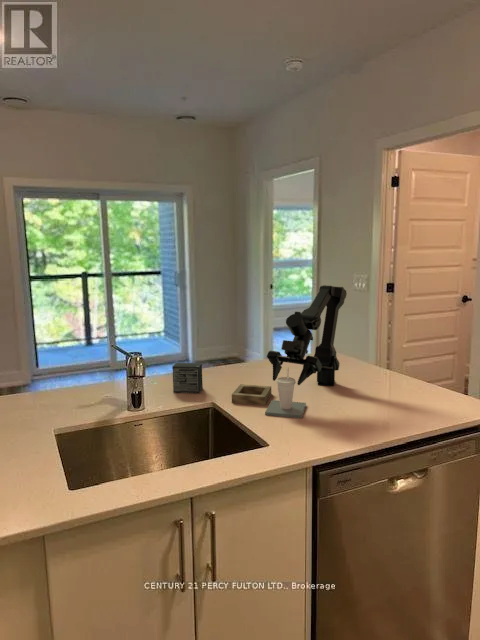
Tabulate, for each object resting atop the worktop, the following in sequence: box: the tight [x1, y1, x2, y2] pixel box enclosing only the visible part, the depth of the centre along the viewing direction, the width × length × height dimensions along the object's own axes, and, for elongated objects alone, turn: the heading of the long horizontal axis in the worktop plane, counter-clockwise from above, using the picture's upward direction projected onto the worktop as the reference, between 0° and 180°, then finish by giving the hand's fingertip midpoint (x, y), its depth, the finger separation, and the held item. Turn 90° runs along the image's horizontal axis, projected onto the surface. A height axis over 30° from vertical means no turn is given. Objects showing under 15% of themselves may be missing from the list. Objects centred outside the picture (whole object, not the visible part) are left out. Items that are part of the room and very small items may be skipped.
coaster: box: [264, 399, 307, 419], centre depth 156 cm, size 12×12×1 cm
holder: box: [231, 384, 272, 406], centre depth 168 cm, size 12×12×3 cm
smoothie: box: [276, 366, 297, 409], centre depth 155 cm, size 6×6×14 cm
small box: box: [171, 362, 204, 394], centre depth 177 cm, size 11×6×10 cm, turn 84°
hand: (285, 382), depth 154 cm, fingers open, 9 cm apart
